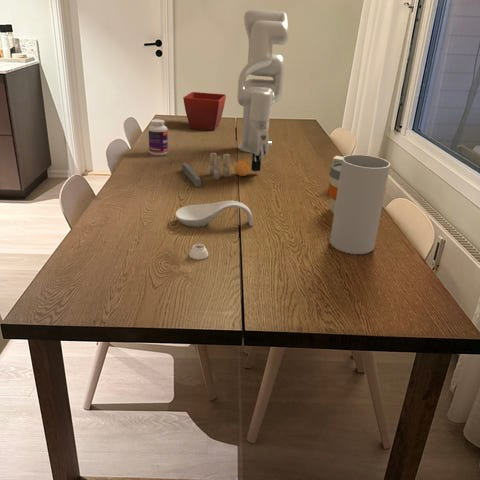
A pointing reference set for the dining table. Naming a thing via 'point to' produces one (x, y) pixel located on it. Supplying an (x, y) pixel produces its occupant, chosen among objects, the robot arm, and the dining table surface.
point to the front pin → (226, 165)
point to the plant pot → (204, 110)
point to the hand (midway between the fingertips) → (255, 170)
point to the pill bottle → (158, 138)
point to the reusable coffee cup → (334, 184)
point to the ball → (242, 168)
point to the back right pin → (212, 163)
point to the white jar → (198, 252)
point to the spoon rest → (208, 212)
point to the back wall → (191, 175)
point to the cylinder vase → (359, 203)
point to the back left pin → (217, 167)
